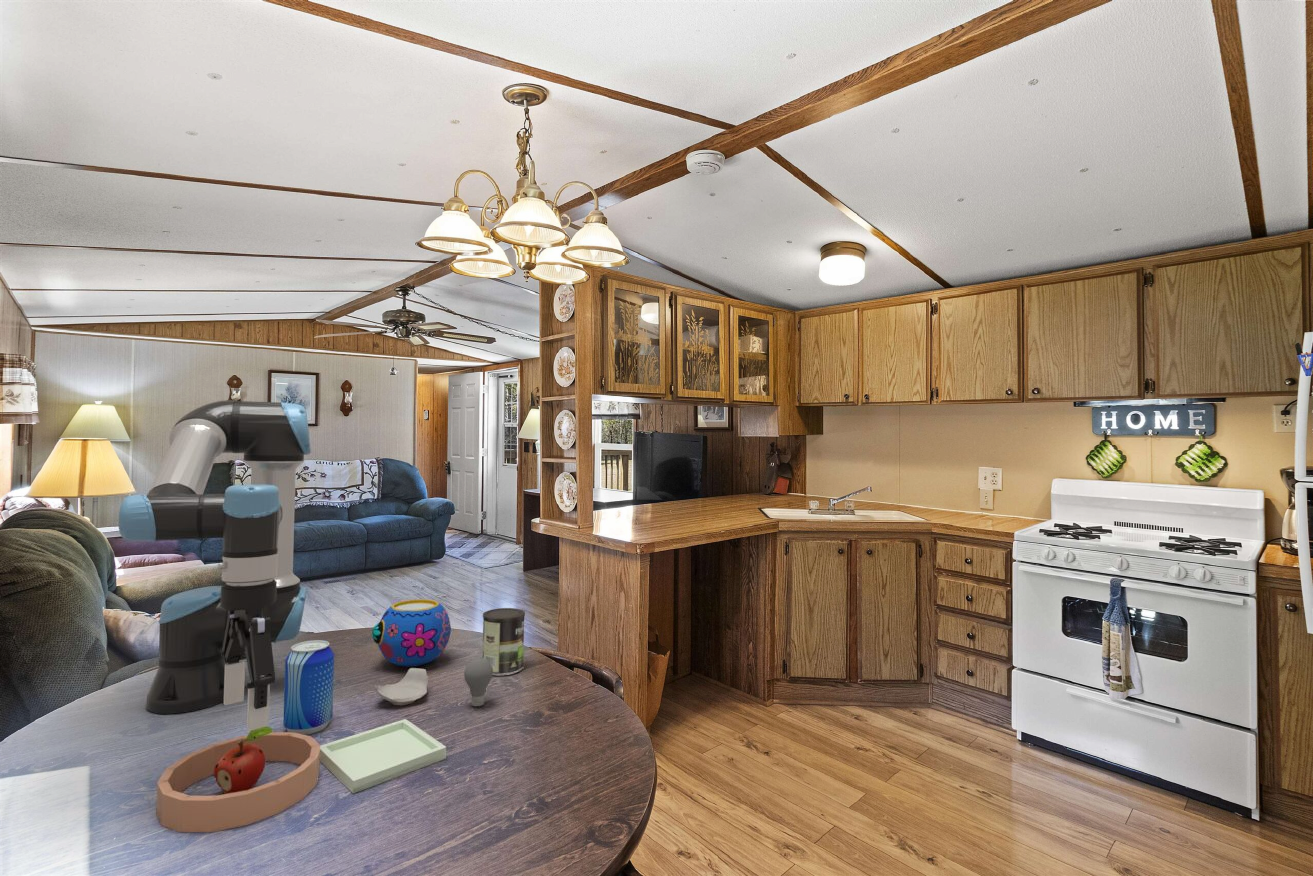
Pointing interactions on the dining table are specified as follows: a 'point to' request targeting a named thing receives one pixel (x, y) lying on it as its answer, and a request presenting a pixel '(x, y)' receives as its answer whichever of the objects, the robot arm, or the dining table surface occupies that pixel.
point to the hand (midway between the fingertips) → (245, 714)
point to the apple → (241, 764)
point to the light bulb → (478, 679)
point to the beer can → (308, 687)
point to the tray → (380, 754)
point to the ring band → (240, 805)
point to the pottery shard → (406, 688)
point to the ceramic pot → (413, 632)
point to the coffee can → (503, 639)
